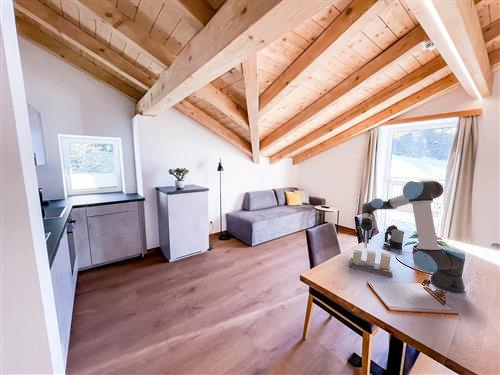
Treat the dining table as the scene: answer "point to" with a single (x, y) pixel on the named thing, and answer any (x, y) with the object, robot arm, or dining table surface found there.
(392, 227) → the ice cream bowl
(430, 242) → the robot arm
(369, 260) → the cream upright block
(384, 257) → the beige tall block
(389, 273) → the grey tray
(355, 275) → the dining table surface
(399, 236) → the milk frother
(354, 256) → the key sage
